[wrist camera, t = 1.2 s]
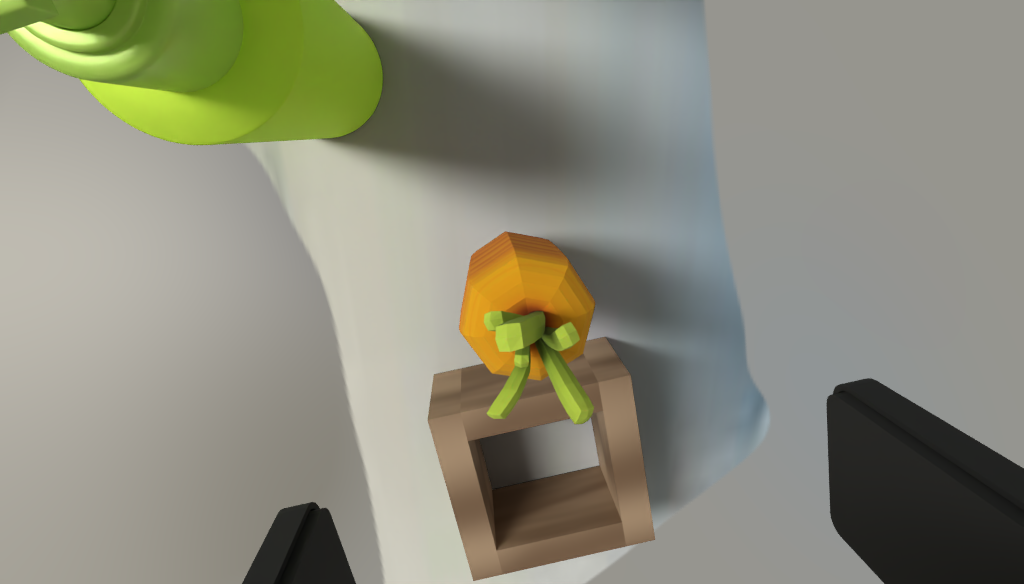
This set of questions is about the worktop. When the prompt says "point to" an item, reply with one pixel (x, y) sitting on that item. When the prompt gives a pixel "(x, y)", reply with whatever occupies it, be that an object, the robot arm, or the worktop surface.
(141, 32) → the soap dispenser
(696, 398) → the worktop surface
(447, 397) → the holder
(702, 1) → the worktop surface
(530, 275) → the carrot
